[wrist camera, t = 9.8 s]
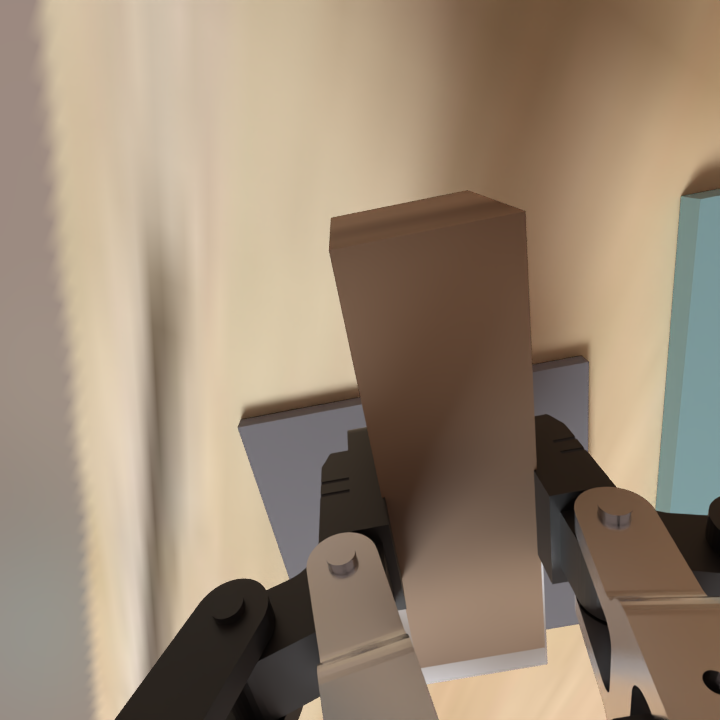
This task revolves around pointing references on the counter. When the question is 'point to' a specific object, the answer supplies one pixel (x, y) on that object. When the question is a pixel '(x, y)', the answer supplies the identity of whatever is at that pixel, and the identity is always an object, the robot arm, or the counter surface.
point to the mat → (329, 435)
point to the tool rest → (693, 365)
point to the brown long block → (450, 420)
